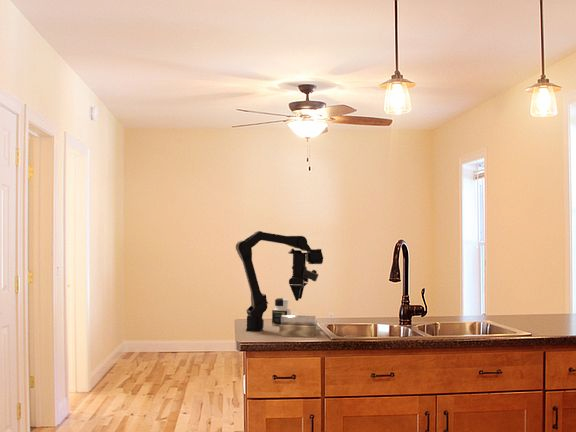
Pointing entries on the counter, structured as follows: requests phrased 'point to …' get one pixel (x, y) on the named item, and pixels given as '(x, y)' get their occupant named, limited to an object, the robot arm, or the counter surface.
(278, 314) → the medicine bottle
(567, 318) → the counter surface
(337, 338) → the counter surface
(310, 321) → the steel axle
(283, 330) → the beech v-block
